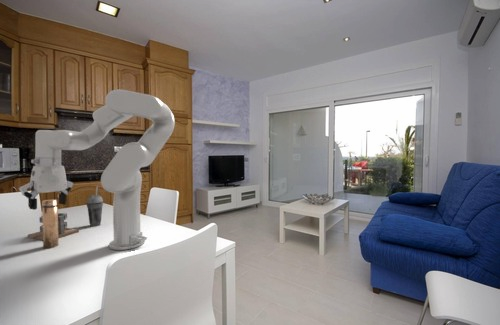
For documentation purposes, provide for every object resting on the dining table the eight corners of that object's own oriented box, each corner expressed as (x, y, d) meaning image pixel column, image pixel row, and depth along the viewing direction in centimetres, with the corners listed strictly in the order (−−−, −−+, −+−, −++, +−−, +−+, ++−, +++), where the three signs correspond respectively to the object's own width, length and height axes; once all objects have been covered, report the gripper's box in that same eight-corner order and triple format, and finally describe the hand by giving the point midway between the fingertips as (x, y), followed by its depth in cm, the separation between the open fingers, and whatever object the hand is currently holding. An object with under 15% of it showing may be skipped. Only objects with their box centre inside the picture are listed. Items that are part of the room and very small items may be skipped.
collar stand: (78, 232, 105) (78, 213, 105) (48, 241, 94) (48, 220, 94) (58, 228, 110) (58, 211, 110) (27, 236, 99) (27, 217, 99)
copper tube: (61, 244, 90) (60, 199, 90) (47, 249, 86) (46, 202, 85) (54, 243, 92) (53, 199, 91) (40, 247, 88) (39, 201, 87)
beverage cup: (83, 226, 114) (82, 186, 114) (98, 222, 121) (98, 184, 120) (91, 228, 111) (90, 187, 110) (106, 224, 117) (106, 185, 117)
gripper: (26, 163, 79) (26, 212, 79) (78, 162, 95) (78, 203, 95) (13, 162, 81) (13, 210, 82) (66, 161, 97) (66, 201, 98)
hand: (48, 206), depth 88 cm, fingers open, 9 cm apart
